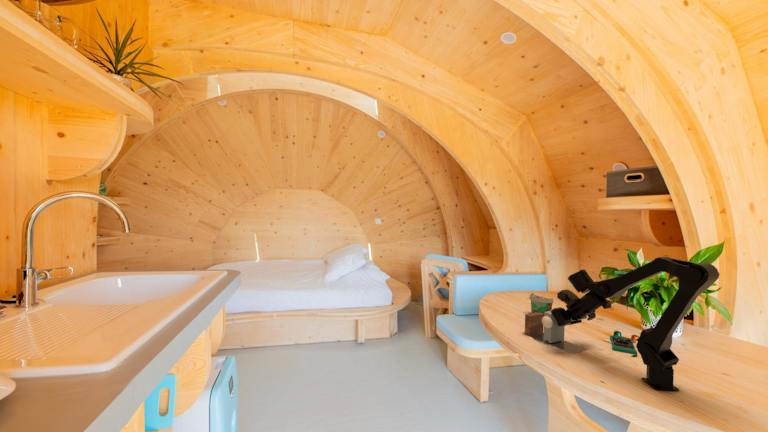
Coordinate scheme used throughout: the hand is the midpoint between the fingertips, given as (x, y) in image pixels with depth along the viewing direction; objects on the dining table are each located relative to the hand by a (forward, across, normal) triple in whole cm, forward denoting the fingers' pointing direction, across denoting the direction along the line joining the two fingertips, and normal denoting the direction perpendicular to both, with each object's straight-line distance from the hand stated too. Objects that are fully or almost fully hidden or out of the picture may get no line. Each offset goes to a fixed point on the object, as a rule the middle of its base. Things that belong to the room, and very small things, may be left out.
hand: (558, 324), depth 130 cm
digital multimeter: (-3, -20, +15) cm, 25 cm away
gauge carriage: (+6, +1, +3) cm, 7 cm away
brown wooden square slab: (+13, 0, -2) cm, 13 cm away
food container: (+25, -24, -14) cm, 37 cm away
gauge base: (+7, +1, +4) cm, 8 cm away
